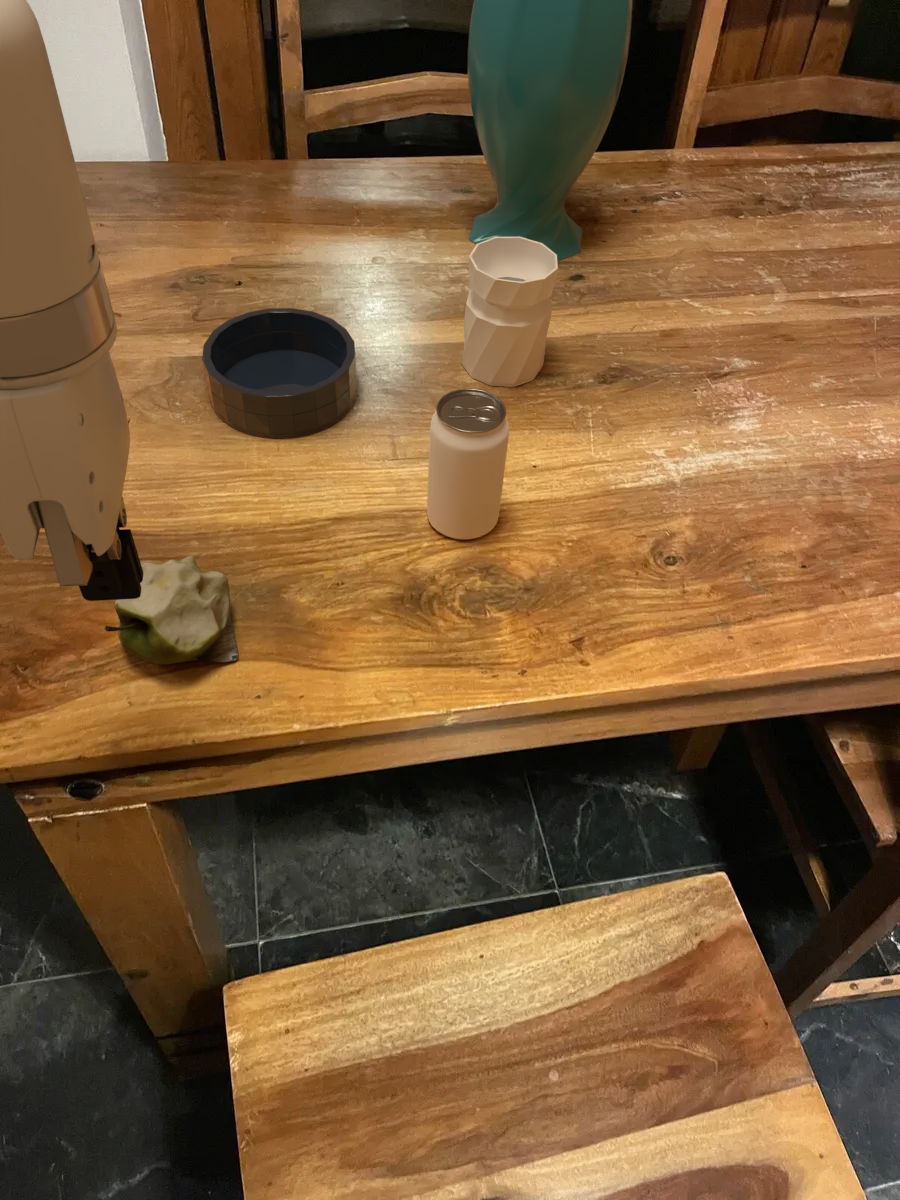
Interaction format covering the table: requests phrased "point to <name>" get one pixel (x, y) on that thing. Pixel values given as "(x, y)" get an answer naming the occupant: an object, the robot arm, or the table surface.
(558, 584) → the table surface
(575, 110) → the vase
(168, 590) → the fruit
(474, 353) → the vase
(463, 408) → the can
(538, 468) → the table surface
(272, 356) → the pan
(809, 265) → the table surface
